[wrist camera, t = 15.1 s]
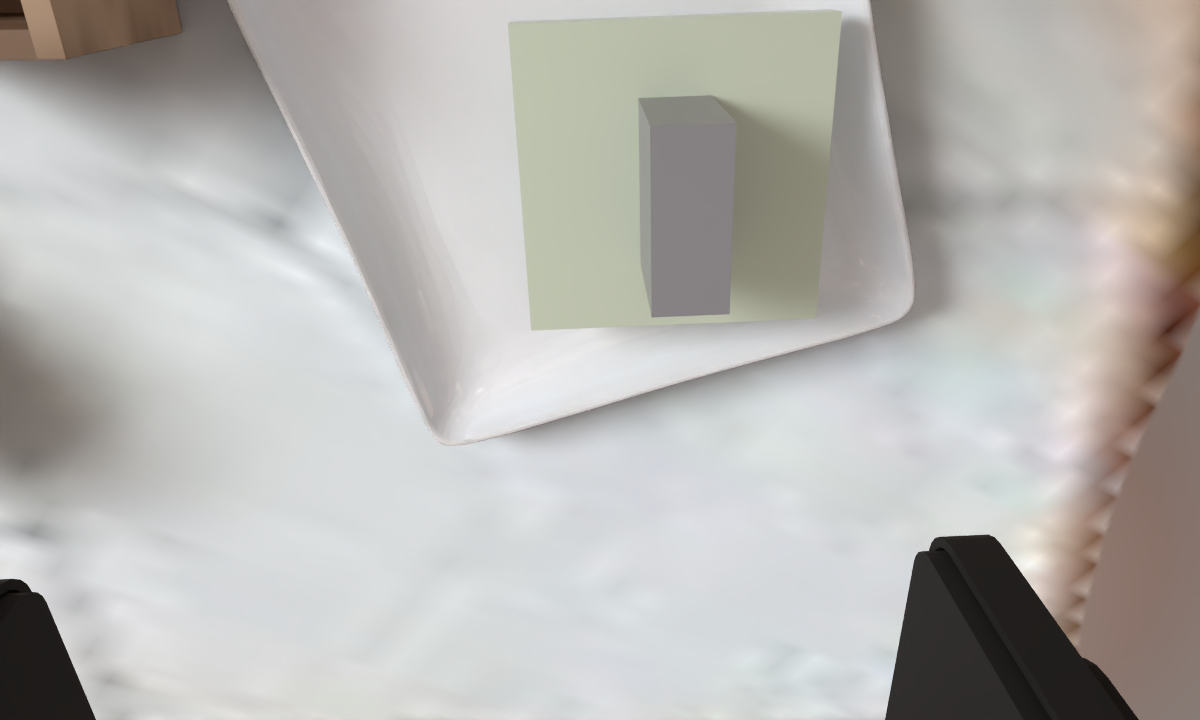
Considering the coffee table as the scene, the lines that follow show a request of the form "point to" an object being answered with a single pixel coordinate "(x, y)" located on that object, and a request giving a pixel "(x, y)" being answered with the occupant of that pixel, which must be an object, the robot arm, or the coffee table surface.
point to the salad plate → (494, 210)
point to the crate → (81, 26)
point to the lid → (674, 165)
